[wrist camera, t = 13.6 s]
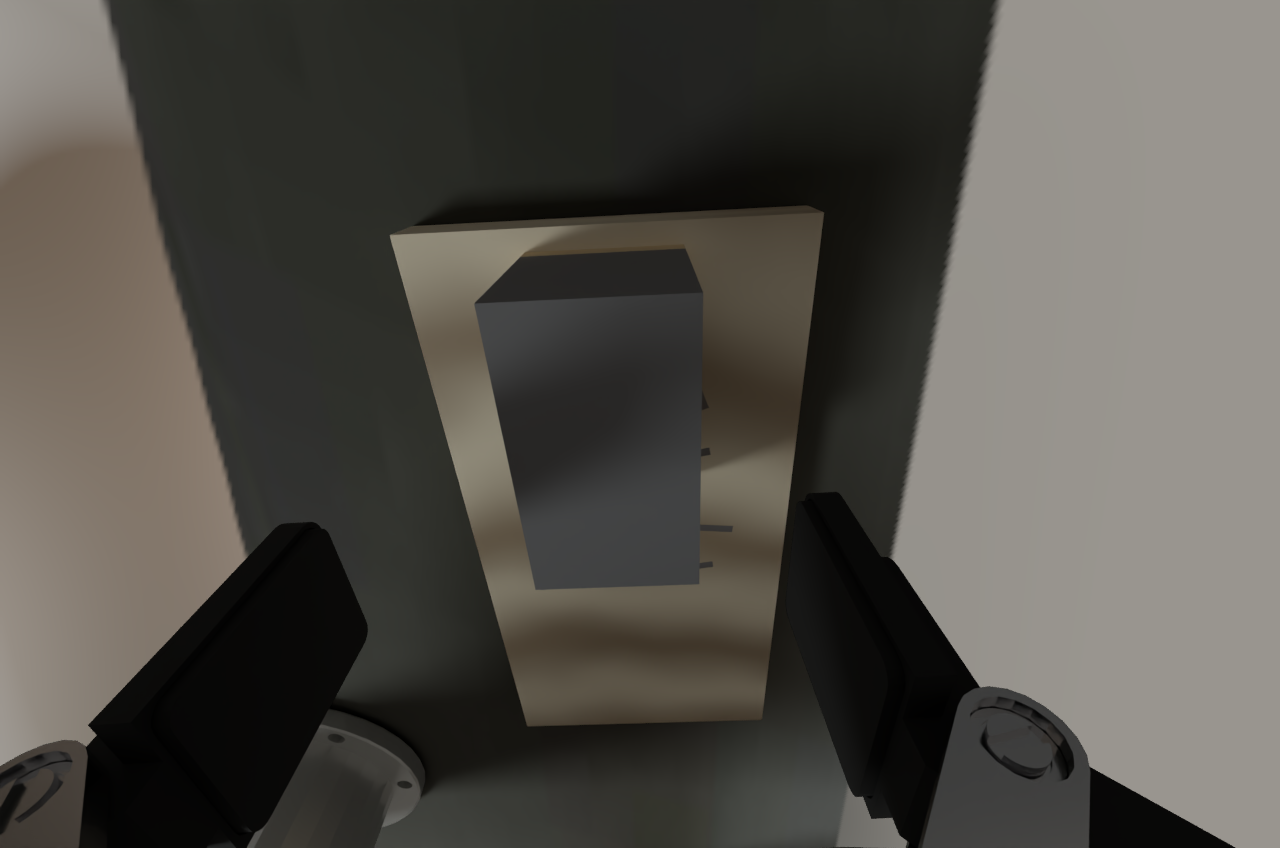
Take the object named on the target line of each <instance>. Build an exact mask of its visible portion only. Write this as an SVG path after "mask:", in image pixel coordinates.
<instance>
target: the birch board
mask: <svg viewBox="0 0 1280 848" xmlns="http://www.w3.org/2000/svg"><path fill="white" fill-rule="evenodd" d="M823 218H824V212H822V211H820V210H817V209H815V208H812V207H810V206H808V205H805V206H786V207H767V208H748V209H729V210H710V211H691V212H672V213H653V214H634V215H615V216H596V217H577V218H558V219H539V220H520V221H501V222H482V223H463V224H444V225H425V226H411V227H409V228H406V229H404V230H401V231H399V232H396V233H394V234H391V235H390V238H391V242H392V245H393V249H394V252H395V256H396V259H397V263H398V267H399V270H400V274H401V277H402V281H403V284H404V288H405V292H406V295H407V299H408V302H409V306H410V309H411V313H412V317H413V320H414V324H415V327H416V331H417V334H418V338H419V342H420V345H421V349H422V352H423V356H424V359H425V363H426V367H427V370H428V374H429V377H430V381H431V384H432V388H433V391H434V395H435V399H436V402H437V406H438V409H439V413H440V416H441V420H442V424H443V427H444V431H445V434H446V438H447V441H448V445H449V449H450V452H451V456H452V459H453V463H454V466H455V470H456V474H457V477H458V481H459V484H460V488H461V491H462V495H463V499H464V502H465V506H466V509H467V513H468V516H469V520H470V523H471V527H472V531H473V534H474V538H475V541H476V545H477V548H478V552H479V556H480V559H481V563H482V566H483V570H484V573H485V577H486V581H487V584H488V588H489V591H490V595H491V598H492V602H493V606H494V609H495V613H496V616H497V620H498V623H499V627H500V631H501V634H502V638H503V641H504V645H505V648H506V652H507V655H508V659H509V663H510V666H511V670H512V673H513V677H514V680H515V684H516V688H517V691H518V695H519V698H520V702H521V705H522V709H523V713H524V716H525V720H526V723H527V726H559V725H594V724H630V723H666V722H702V721H738V720H762V714H763V706H764V698H765V690H766V682H767V674H768V665H769V657H770V649H771V641H772V633H773V625H774V617H775V608H776V600H777V592H778V584H779V576H780V568H781V560H782V551H783V543H784V535H785V527H786V519H787V511H788V503H789V495H790V486H791V478H792V470H793V462H794V454H795V446H796V438H797V429H798V421H799V413H800V405H801V397H802V389H803V381H804V372H805V364H806V356H807V348H808V340H809V332H810V324H811V315H812V307H813V299H814V291H815V283H816V275H817V267H818V258H819V250H820V242H821V234H822V226H823ZM680 244H684V246H685V248H686V251H687V253H688V256H689V258H690V261H691V263H692V266H693V268H694V271H695V273H696V276H697V278H698V281H699V283H700V286H701V288H702V291H703V347H702V420H701V494H700V568H699V584H693V585H664V586H634V587H605V588H576V589H547V590H535V585H534V580H533V576H532V571H531V566H530V562H529V557H528V552H527V548H526V543H525V538H524V534H523V529H522V524H521V520H520V515H519V510H518V506H517V501H516V496H515V492H514V487H513V483H512V478H511V473H510V469H509V464H508V459H507V455H506V450H505V445H504V441H503V436H502V431H501V427H500V422H499V417H498V413H497V408H496V403H495V399H494V394H493V389H492V385H491V380H490V375H489V371H488V366H487V362H486V357H485V352H484V348H483V343H482V338H481V334H480V329H479V324H478V320H477V315H476V310H475V306H474V303H475V302H476V301H477V300H478V299H479V298H480V297H481V296H482V295H483V294H484V293H485V292H486V291H487V290H488V289H489V288H490V287H491V286H492V285H493V284H494V283H495V282H496V281H497V280H498V279H499V278H500V277H501V276H502V275H503V274H504V273H505V272H506V271H507V270H508V269H509V268H510V267H511V266H512V265H513V264H514V263H515V262H516V261H517V260H518V259H519V258H520V257H521V256H522V255H523V253H524V252H542V251H562V250H582V249H602V248H621V247H641V246H661V245H680Z"/></svg>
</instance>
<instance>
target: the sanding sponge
mask: <svg viewBox="0 0 1280 848" xmlns="http://www.w3.org/2000/svg"><path fill="white" fill-rule="evenodd" d="M474 306H475V310H476V315H477V320H478V324H479V329H480V334H481V338H482V343H483V348H484V352H485V357H486V362H487V366H488V371H489V375H490V380H491V385H492V389H493V394H494V399H495V403H496V408H497V413H498V417H499V422H500V427H501V431H502V436H503V441H504V445H505V450H506V455H507V459H508V464H509V469H510V473H511V478H512V483H513V487H514V492H515V496H516V501H517V506H518V510H519V515H520V520H521V524H522V529H523V534H524V538H525V543H526V548H527V552H528V557H529V562H530V566H531V571H532V576H533V580H534V585H535V590H547V589H576V588H605V587H634V586H664V585H693V584H699V568H700V494H701V420H702V347H703V291H702V288H701V286H700V283H699V281H698V278H697V276H696V273H695V271H694V268H693V266H692V263H691V261H690V258H689V256H688V253H687V251H686V248H685V246H684V244H680V245H661V246H641V247H621V248H602V249H582V250H562V251H542V252H524V253H523V255H522V256H521V257H520V258H519V259H518V260H517V261H516V262H515V263H514V264H513V265H512V266H511V267H510V268H509V269H508V270H507V271H506V272H505V273H504V274H503V275H502V276H501V277H500V278H499V279H498V280H497V281H496V282H495V283H494V284H493V285H492V286H491V287H490V288H489V289H488V290H487V291H486V292H485V293H484V294H483V295H482V296H481V297H480V298H479V299H478V300H477V301H476V302H475V303H474Z"/></svg>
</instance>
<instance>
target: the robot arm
mask: <svg viewBox="0 0 1280 848" xmlns="http://www.w3.org/2000/svg"><path fill="white" fill-rule="evenodd" d="M786 610H787V615H788V618H789V621H790V624H791V627H792V630H793V632H794V635H795V638H796V641H797V644H798V646H799V649H800V652H801V655H802V658H803V660H804V663H805V666H806V669H807V671H808V674H809V677H810V680H811V683H812V685H813V688H814V691H815V694H816V696H817V699H818V702H819V705H820V708H821V710H822V713H823V716H824V719H825V721H826V724H827V727H828V730H829V733H830V735H831V738H832V741H833V744H834V746H835V749H836V752H837V755H838V758H839V760H840V763H841V766H842V769H843V772H844V774H845V777H846V780H847V783H848V785H849V788H850V789H851V792H852V793H853V795H854V796H855V797H862V796H863V797H864V800H865V802H866V806H867V808H868V811H869V814H870V816H871V819H876V818H893V820H894V823H895V825H896V828H897V830H898V833H899V835H900V836H901V837H903V838H904V839H905V840H907V845H906V848H1235V847H1233V846H1232V845H1230V844H1228V843H1226V842H1224V841H1222V840H1221V839H1219V838H1217V837H1215V836H1213V835H1212V834H1210V833H1208V832H1206V831H1204V830H1203V829H1201V828H1199V827H1197V826H1195V825H1194V824H1192V823H1190V822H1188V821H1186V820H1185V819H1183V818H1181V817H1179V816H1177V815H1176V814H1174V813H1172V812H1170V811H1168V810H1167V809H1165V808H1163V807H1161V806H1159V805H1158V804H1155V803H1154V802H1152V801H1150V800H1148V799H1147V798H1145V797H1143V796H1141V795H1140V794H1138V793H1136V792H1134V791H1132V790H1130V789H1129V788H1127V787H1125V786H1123V785H1121V784H1120V783H1118V782H1116V781H1114V780H1112V779H1111V778H1109V777H1107V776H1105V775H1103V774H1101V773H1100V772H1098V771H1096V770H1094V769H1093V768H1091V767H1089V763H1088V758H1087V754H1086V753H1085V751H1084V749H1083V747H1082V745H1081V743H1080V742H1079V740H1078V738H1077V737H1076V736H1075V734H1074V733H1073V732H1072V731H1071V730H1070V729H1069V728H1068V726H1067V725H1066V724H1065V723H1064V722H1063V721H1062V720H1061V719H1060V718H1058V717H1057V716H1056V715H1055V714H1054V713H1052V712H1051V711H1050V710H1049V709H1047V708H1046V707H1044V706H1043V705H1041V704H1040V703H1038V702H1036V701H1034V700H1032V699H1031V698H1029V697H1027V696H1025V695H1022V694H1020V693H1017V692H1014V691H1011V690H1008V689H1004V688H997V687H990V686H989V687H982V688H980V687H979V685H978V684H977V682H976V681H975V680H974V678H973V676H972V675H971V673H970V672H969V670H968V669H967V668H966V666H965V664H964V663H963V661H962V660H961V659H960V657H959V656H958V654H957V653H956V651H955V650H954V648H953V647H952V645H951V644H950V642H949V641H948V639H947V638H946V636H945V635H944V634H943V632H942V631H941V629H940V628H939V626H938V625H937V623H936V622H935V620H934V619H933V617H932V616H931V614H930V613H929V611H928V610H927V609H926V607H925V605H924V604H923V603H922V601H921V600H920V598H919V597H918V595H917V594H916V592H915V591H914V589H913V588H912V586H911V585H910V583H909V582H908V580H907V579H906V577H905V576H904V574H903V573H902V571H901V570H900V568H899V567H898V566H897V564H896V563H895V562H894V561H893V560H892V559H890V558H888V557H881V556H880V555H879V553H878V552H877V550H876V549H875V547H874V546H873V544H872V542H871V541H870V539H869V538H868V536H867V535H866V533H865V532H864V530H863V529H862V527H861V526H860V524H859V522H858V521H857V519H856V518H855V516H854V515H853V513H852V512H851V510H850V509H849V507H848V506H847V504H846V502H845V501H844V499H843V498H842V496H841V495H840V494H839V493H837V492H828V493H810V494H808V495H807V496H806V499H805V501H799V502H798V503H797V506H796V514H795V522H794V531H793V540H792V548H791V557H790V566H789V574H788V583H787V591H786ZM367 632H368V627H367V622H366V620H365V617H364V615H363V613H362V610H361V608H360V606H359V603H358V601H357V599H356V596H355V594H354V591H353V589H352V587H351V584H350V582H349V580H348V577H347V575H346V573H345V570H344V568H343V566H342V563H341V561H340V559H339V556H338V554H337V552H336V549H335V547H334V545H333V542H332V540H331V538H330V535H329V533H328V532H327V531H326V530H325V529H321V528H320V526H319V525H318V524H316V523H314V522H303V523H286V524H281V525H279V526H278V527H276V528H275V529H274V530H273V531H272V532H271V533H270V534H269V535H268V536H267V537H266V539H265V540H264V541H263V542H262V543H261V544H260V545H259V546H258V547H257V548H256V549H255V550H254V551H253V552H252V553H251V554H250V555H249V556H248V557H247V558H246V560H245V561H244V562H243V563H242V564H241V565H240V566H239V567H238V568H237V569H236V570H235V571H234V572H233V573H232V574H231V575H230V576H229V578H228V579H227V580H226V581H225V582H224V583H223V584H222V585H221V586H220V587H219V588H218V589H217V590H216V591H215V592H214V593H213V594H212V595H211V596H210V597H209V598H208V600H207V601H206V602H205V603H204V604H203V605H202V606H201V607H200V608H199V609H198V610H197V611H196V612H195V613H194V614H193V615H192V616H191V617H190V619H189V620H188V621H187V622H186V623H185V624H184V625H183V626H182V627H181V628H180V629H179V630H178V631H177V632H176V633H175V634H174V635H173V636H172V638H171V639H170V640H169V641H168V642H167V643H166V644H165V645H164V646H163V647H162V648H161V649H160V650H159V651H158V652H157V653H156V654H155V655H154V656H153V657H152V658H151V659H150V661H149V662H148V663H147V664H146V665H145V666H144V667H143V668H142V669H141V670H140V671H139V672H138V673H137V674H136V675H135V676H134V677H133V678H132V679H131V681H130V682H129V683H128V684H127V685H126V686H125V687H124V688H123V689H122V690H121V691H120V692H119V693H118V694H117V695H116V696H115V697H114V698H113V700H112V701H111V702H110V703H109V704H108V705H107V706H106V707H105V708H104V709H103V710H102V711H101V712H100V713H99V714H98V715H97V716H96V717H95V718H94V720H93V721H92V722H91V723H90V724H89V725H88V726H89V727H90V728H91V729H92V730H93V731H94V732H95V733H96V735H97V736H96V737H95V738H94V739H93V740H92V741H91V742H90V744H89V745H88V746H87V747H86V746H84V745H83V744H81V743H80V742H78V741H72V740H62V741H57V742H53V743H49V744H45V745H42V746H39V747H37V748H35V749H32V750H30V751H28V752H25V753H23V754H21V755H19V756H17V757H15V758H14V759H12V760H10V761H9V762H7V763H5V764H3V765H1V766H0V848H374V846H375V844H376V841H377V838H378V836H379V833H380V830H381V828H382V827H384V826H387V825H391V824H393V823H395V822H397V821H399V820H401V819H403V818H405V817H406V816H407V815H408V814H409V813H411V812H412V811H413V810H414V809H415V807H416V806H417V804H418V802H419V800H420V797H421V794H422V791H423V787H424V784H425V770H424V768H423V765H422V763H421V761H420V759H419V758H418V756H417V755H416V754H415V752H414V751H413V750H412V749H411V748H410V747H409V746H408V745H407V744H406V743H405V742H404V741H402V740H401V739H400V738H399V737H397V736H396V735H394V734H392V733H391V732H389V731H388V730H386V729H384V728H383V727H380V726H378V725H376V724H374V723H372V722H370V721H368V720H365V719H363V718H360V717H357V716H354V715H351V714H348V713H345V712H341V711H337V710H332V709H329V708H330V706H331V704H332V702H333V701H334V699H335V697H336V695H337V693H338V691H339V689H340V688H341V686H342V684H343V682H344V680H345V678H346V676H347V675H348V673H349V671H350V669H351V667H352V665H353V663H354V662H355V660H356V658H357V656H358V654H359V652H360V650H361V649H362V647H363V645H364V643H365V641H366V637H367ZM833 848H861V847H833Z"/></svg>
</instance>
